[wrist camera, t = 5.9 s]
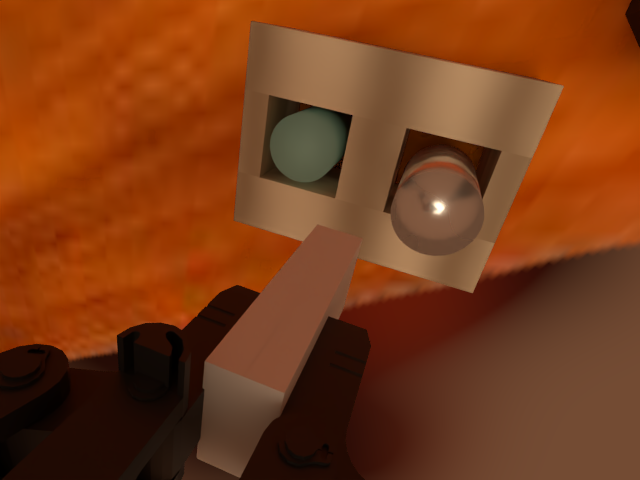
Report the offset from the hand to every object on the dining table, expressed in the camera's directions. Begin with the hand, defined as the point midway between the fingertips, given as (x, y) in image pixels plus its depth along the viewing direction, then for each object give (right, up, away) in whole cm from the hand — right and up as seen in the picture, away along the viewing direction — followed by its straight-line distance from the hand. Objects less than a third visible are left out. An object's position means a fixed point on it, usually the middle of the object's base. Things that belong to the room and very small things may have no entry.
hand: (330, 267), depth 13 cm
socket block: (+4, +8, +15) cm, 17 cm away
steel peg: (+6, +4, +10) cm, 12 cm away
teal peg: (0, +9, +15) cm, 17 cm away
